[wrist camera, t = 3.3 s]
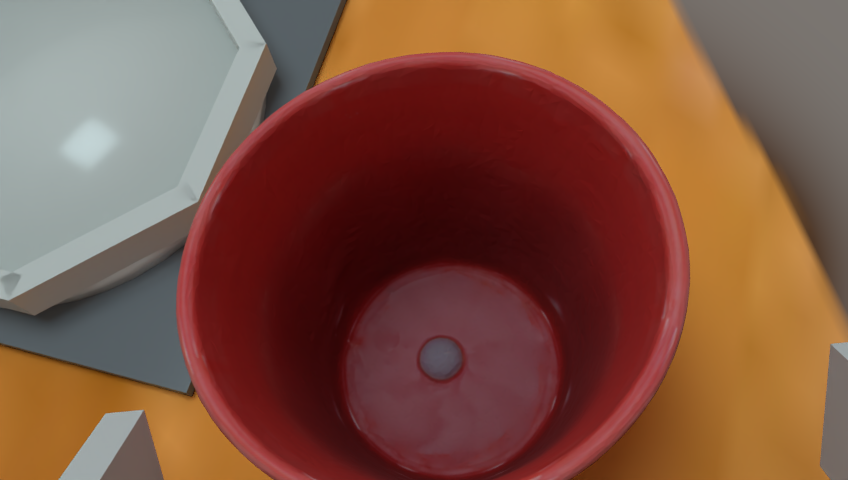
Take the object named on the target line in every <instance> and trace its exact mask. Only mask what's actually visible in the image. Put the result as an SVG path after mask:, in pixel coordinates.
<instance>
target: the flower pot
mask: <svg viewBox="0 0 848 480" xmlns="http://www.w3.org/2000/svg"><path fill="white" fill-rule="evenodd" d="M689 286H690V263H689V249H688V243H687V237H686V233H685V228H684V224H683V220H682V216H681V213H680V209H679V206H678V203H677V200H676V197H675V195H674V193H673V190H672V188H671V186H670V184H669V182H668V180H667V178H666V176H665V174H664V172H663V171H662V169H661V167H660V166H659V164H658V162H657V160H656V158H655V157H654V155H653V154H652V152H651V151H650V150H649V148H648V147H647V146H646V144H645V143H644V142H643V141H642V139H641V138H640V137H639V136H638V134H637V133H636V132H635V131H634V130H633V129H632V128H631V127H630V126H629V125H628V124H627V123H626V122H625V121H624V120H623V119H622V118H621V117H620V116H618V115H617V114H616V113H615V112H614V111H613V110H612V109H610V108H609V107H608V106H607V105H606V104H604V103H603V102H602V101H601V100H599V99H598V98H596V97H595V96H593V95H592V94H590V93H589V92H587V91H586V90H584V89H583V88H581V87H579V86H578V85H576V84H574V83H572V82H570V81H568V80H566V79H564V78H562V77H560V76H557V75H555V74H554V73H552V72H550V71H547V70H544V69H541V68H538V67H536V66H532V65H529V64H526V63H523V62H520V61H516V60H511V59H507V58H503V57H498V56H493V55H486V54H477V53H464V52H439V53H424V54H414V55H406V56H401V57H396V58H390V59H385V60H382V61H378V62H374V63H370V64H367V65H364V66H361V67H358V68H355V69H352V70H350V71H347V72H344V73H342V74H340V75H337V76H335V77H333V78H331V79H328V80H326V81H324V82H322V83H320V84H318V85H316V86H314V87H313V88H311V89H309V90H307V91H305V92H303V93H301V94H300V95H298V96H297V97H295V98H294V99H292V100H291V101H289V102H288V103H286V104H285V105H283V106H282V107H281V108H279V109H278V110H277V111H275V112H274V113H273V114H271V115H270V116H269V117H268V118H267V119H266V120H265V121H263V122H262V123H261V124H260V125H259V126H258V127H257V128H256V129H255V130H254V131H253V132H252V133H251V134H250V135H249V136H248V137H247V138H246V139H245V140H244V141H243V142H242V143H241V144H240V146H239V147H238V148H237V149H236V150H235V151H234V152H233V153H232V155H231V156H230V157H229V158H228V160H227V161H226V162H225V164H224V165H223V166H222V168H221V169H220V171H219V172H218V174H217V175H216V177H215V178H214V180H213V182H212V183H211V185H210V187H209V188H208V190H207V192H206V194H205V196H204V197H203V199H202V201H201V204H200V206H199V208H198V210H197V212H196V214H195V217H194V219H193V222H192V225H191V227H190V230H189V234H188V237H187V240H186V243H185V246H184V250H183V254H182V259H181V264H180V270H179V275H178V282H177V293H176V318H177V329H178V335H179V341H180V346H181V350H182V354H183V357H184V361H185V365H186V368H187V370H188V373H189V376H190V379H191V381H192V383H193V386H194V388H195V390H196V392H197V394H198V397H199V399H200V401H201V402H202V404H203V405H204V407H205V409H206V410H207V412H208V413H209V415H210V417H211V418H212V420H213V421H214V422H215V424H216V425H217V426H218V428H219V429H220V431H221V432H222V433H223V434H224V435H225V437H226V438H227V439H228V440H229V441H230V442H231V443H232V444H233V445H234V446H235V447H236V448H237V449H238V450H239V451H240V452H241V453H242V454H243V455H244V456H245V457H246V458H247V459H248V460H249V461H250V462H252V463H253V464H254V465H255V466H256V467H257V468H259V469H260V470H261V471H263V472H264V473H265V474H267V475H268V476H269V477H271V478H272V479H274V480H570V479H572V478H573V477H575V476H576V475H578V474H579V473H581V472H582V471H583V470H585V469H586V468H588V467H589V466H590V465H592V464H593V463H595V462H596V461H597V460H598V459H599V458H600V457H601V456H602V455H603V454H604V453H606V452H607V451H608V450H609V449H610V448H611V447H612V446H613V445H614V444H615V443H616V442H617V441H618V440H619V439H620V438H621V437H622V436H623V435H624V434H625V433H626V432H627V431H628V430H629V429H630V428H631V426H632V425H633V424H634V423H635V422H636V420H637V419H638V418H639V416H640V415H641V414H642V412H643V411H644V410H645V408H646V407H647V405H648V404H649V402H650V401H651V399H652V398H653V396H654V395H655V393H656V392H657V390H658V388H659V386H660V385H661V383H662V381H663V379H664V377H665V375H666V373H667V371H668V369H669V366H670V364H671V362H672V360H673V358H674V355H675V352H676V349H677V347H678V344H679V341H680V337H681V334H682V330H683V326H684V321H685V317H686V312H687V305H688V296H689Z"/></svg>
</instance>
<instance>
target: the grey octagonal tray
mask: <svg viewBox="0 0 848 480" xmlns="http://www.w3.org/2000/svg"><path fill="white" fill-rule="evenodd" d="M346 1H347V0H0V345H4V346H7V347H11V348H15V349H19V350H22V351H26V352H30V353H33V354H37V355H41V356H44V357H48V358H52V359H56V360H59V361H63V362H67V363H70V364H74V365H78V366H81V367H85V368H89V369H93V370H96V371H100V372H104V373H107V374H111V375H115V376H118V377H122V378H126V379H130V380H133V381H137V382H141V383H144V384H148V385H152V386H155V387H159V388H163V389H167V390H170V391H174V392H178V393H181V394H185V395H189V396H192V395H193V392H194V390H195V388H194V386H193V383H192V381H191V379H190V376H189V373H188V370H187V368H186V365H185V361H184V357H183V354H182V350H181V346H180V341H179V335H178V329H177V318H176V293H177V282H178V275H179V270H180V264H181V259H182V254H183V250H184V246H185V243H186V240H187V237H188V234H189V230H190V227H191V225H192V222H193V219H194V217H195V214H196V212H197V210H198V208H199V206H200V204H201V201H202V199H203V197H204V196H205V194H206V192H207V190H208V188H209V187H210V185H211V183H212V182H213V180H214V178H215V177H216V175H217V174H218V172H219V171H220V169H221V168H222V166H223V165H224V164H225V162H226V161H227V160H228V158H229V157H230V156H231V155H232V153H233V152H234V151H235V150H236V149H237V148H238V147H239V146H240V144H241V143H242V142H243V141H244V140H245V139H246V138H247V137H248V136H249V135H250V134H251V133H252V132H253V131H254V130H255V129H256V128H257V127H258V126H259V125H260V124H261V123H262V122H263V121H265V120H266V119H267V118H268V117H269V116H270V115H271V114H273V113H274V112H275V111H277V110H278V109H279V108H281V107H282V106H283V105H285V104H286V103H288V102H289V101H291V100H292V99H294V98H295V97H297V96H298V95H300V94H301V93H303V92H305V91H307V90H309V89H311V88H313V85H314V82H315V80H316V77H317V75H318V72H319V70H320V67H321V65H322V62H323V59H324V57H325V54H326V52H327V49H328V47H329V44H330V42H331V39H332V36H333V34H334V31H335V29H336V26H337V24H338V21H339V18H340V16H341V13H342V11H343V8H344V6H345V3H346Z"/></svg>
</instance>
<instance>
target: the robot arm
mask: <svg viewBox="0 0 848 480" xmlns="http://www.w3.org/2000/svg"><path fill="white" fill-rule="evenodd" d="M820 467H821V468H822V469H823V471H824V472H825V473H826V474H827V476H828V477H829V478H830V479H831V480H848V342H847V343H836V344H831V345H830V356H829V368H828V379H827V391H826V402H825V414H824V425H823V436H822V448H821V459H820ZM59 480H164V479H163V475H162V472H161V468H160V465H159V461H158V457H157V454H156V450H155V447H154V443H153V440H152V436H151V433H150V429H149V426H148V422H147V419H146V415H145V411H144V410H138V411H127V412H117V413H107V414H105V415H104V417H103V418H102V419H101V421H100V422H99V424H98V425H97V426H96V428H95V429H94V431H93V432H92V433H91V435H90V436H89V438H88V439H87V440H86V442H85V443H84V445H83V446H82V447H81V449H80V450H79V452H78V453H77V455H76V456H75V457H74V459H73V460H72V462H71V463H70V464H69V466H68V467H67V469H66V470H65V471H64V473H63V474H62V476H61V477H60V478H59Z"/></svg>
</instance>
